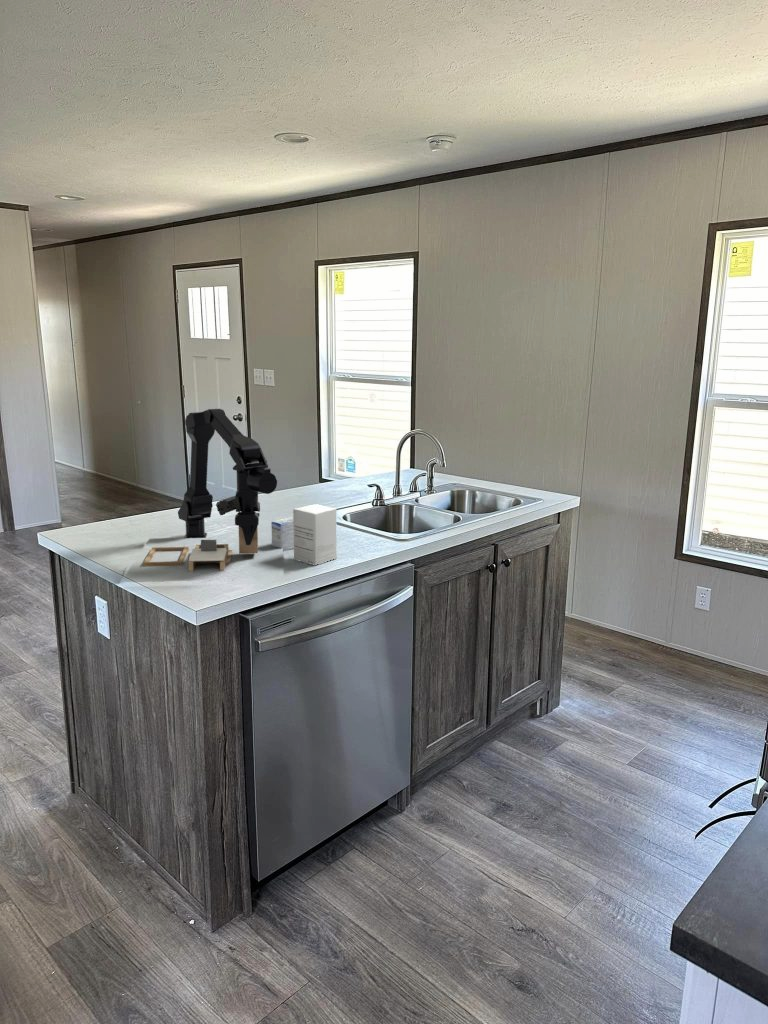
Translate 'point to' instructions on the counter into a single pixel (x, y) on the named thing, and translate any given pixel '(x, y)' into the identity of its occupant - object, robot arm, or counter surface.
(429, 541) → the counter surface
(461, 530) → the counter surface
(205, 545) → the lid
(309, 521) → the supplement box
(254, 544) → the walnut block
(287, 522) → the medicine box
